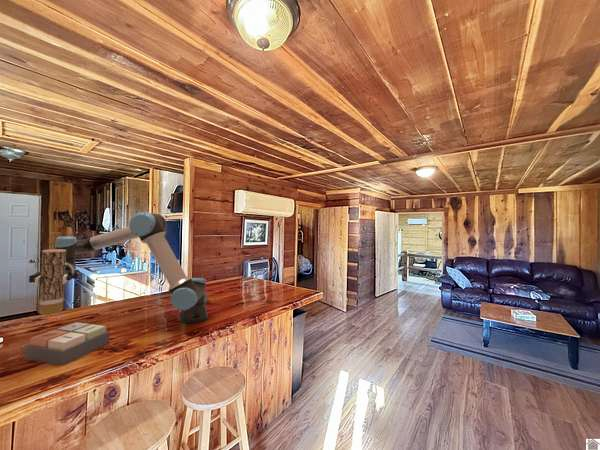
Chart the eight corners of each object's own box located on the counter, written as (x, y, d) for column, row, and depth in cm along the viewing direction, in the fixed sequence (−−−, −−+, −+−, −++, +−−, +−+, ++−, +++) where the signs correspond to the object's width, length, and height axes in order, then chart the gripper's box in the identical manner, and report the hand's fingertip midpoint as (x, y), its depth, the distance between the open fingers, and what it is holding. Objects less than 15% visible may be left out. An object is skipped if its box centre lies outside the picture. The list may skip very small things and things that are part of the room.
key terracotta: (67, 339, 100) (68, 331, 100) (45, 347, 92) (46, 339, 93) (53, 337, 101) (53, 329, 101) (30, 345, 94) (30, 337, 94)
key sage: (105, 332, 107) (106, 325, 107) (88, 340, 99) (88, 332, 100) (91, 331, 108) (92, 324, 108) (73, 338, 101) (73, 330, 101)
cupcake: (201, 305, 164) (201, 287, 164) (193, 302, 168) (194, 285, 168) (211, 302, 171) (212, 285, 171) (204, 300, 175) (204, 283, 176)
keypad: (108, 343, 107) (109, 331, 108) (62, 365, 90) (63, 351, 90) (75, 338, 111) (76, 327, 111) (24, 358, 93) (25, 345, 93)
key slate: (89, 330, 108) (89, 323, 108) (70, 338, 101) (71, 330, 101) (75, 328, 110) (76, 322, 110) (56, 335, 102) (56, 328, 102)
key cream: (85, 341, 98) (85, 334, 98) (63, 350, 91) (64, 342, 91) (70, 339, 100) (70, 332, 100) (48, 348, 92) (48, 340, 92)
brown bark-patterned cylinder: (47, 316, 93) (50, 251, 94) (33, 314, 95) (37, 250, 95) (67, 310, 100) (70, 250, 100) (54, 309, 101) (58, 249, 102)
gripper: (88, 277, 118) (83, 288, 99) (29, 281, 106) (10, 294, 87) (89, 262, 118) (84, 269, 100) (30, 264, 106) (12, 273, 88)
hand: (50, 281), depth 93 cm, fingers closed on brown bark-patterned cylinder, 7 cm apart
